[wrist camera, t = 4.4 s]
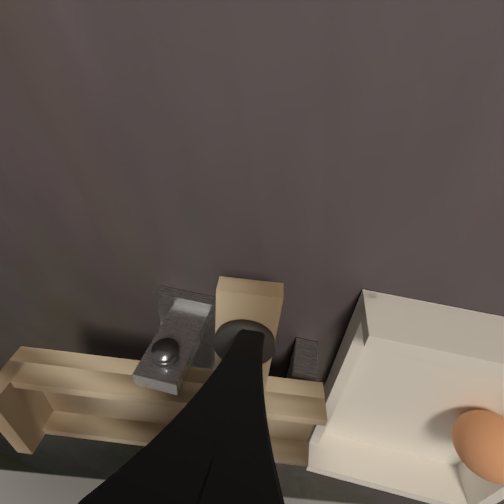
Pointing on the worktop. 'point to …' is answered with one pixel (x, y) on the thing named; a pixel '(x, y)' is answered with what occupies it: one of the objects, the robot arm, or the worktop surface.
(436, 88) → the worktop surface
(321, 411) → the lever
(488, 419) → the egg
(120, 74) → the worktop surface
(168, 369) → the pivot base
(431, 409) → the dish
